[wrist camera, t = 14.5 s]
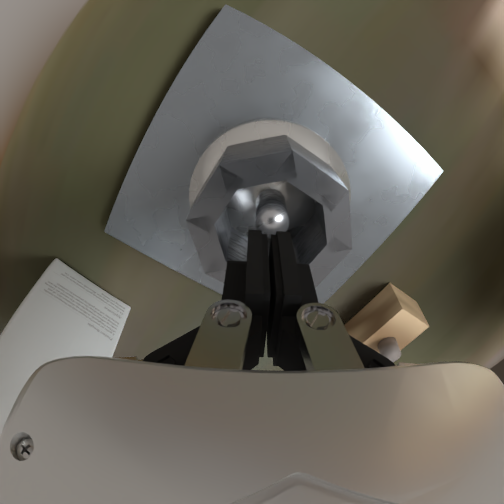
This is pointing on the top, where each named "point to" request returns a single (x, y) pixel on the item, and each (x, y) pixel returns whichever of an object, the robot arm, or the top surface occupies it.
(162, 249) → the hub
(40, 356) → the skincare box
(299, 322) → the robot arm
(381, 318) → the stand
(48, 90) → the top surface
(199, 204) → the plate ring
